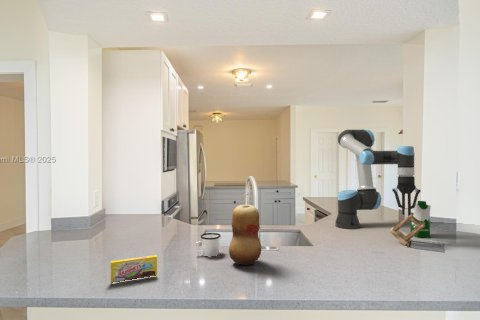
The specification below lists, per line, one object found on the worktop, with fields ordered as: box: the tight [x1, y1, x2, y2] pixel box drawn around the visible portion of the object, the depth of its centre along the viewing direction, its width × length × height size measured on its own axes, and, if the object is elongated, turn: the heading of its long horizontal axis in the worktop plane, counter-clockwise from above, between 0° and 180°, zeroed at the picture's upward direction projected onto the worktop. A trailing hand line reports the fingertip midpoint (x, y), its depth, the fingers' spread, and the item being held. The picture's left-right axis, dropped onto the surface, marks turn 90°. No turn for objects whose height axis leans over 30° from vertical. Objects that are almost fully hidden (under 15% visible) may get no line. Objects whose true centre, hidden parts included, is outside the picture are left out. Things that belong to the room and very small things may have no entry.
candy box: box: [110, 254, 158, 284], centre depth 105 cm, size 16×2×8 cm, turn 114°
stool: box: [389, 212, 426, 246], centre depth 146 cm, size 9×9×14 cm
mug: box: [194, 232, 221, 257], centre depth 132 cm, size 12×10×9 cm
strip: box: [406, 239, 411, 248], centre depth 146 cm, size 1×14×1 cm, turn 146°
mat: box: [409, 239, 446, 254], centre depth 142 cm, size 14×14×1 cm
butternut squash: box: [228, 204, 262, 266], centre depth 120 cm, size 14×13×25 cm
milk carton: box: [410, 200, 431, 239], centre depth 160 cm, size 9×9×20 cm
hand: (406, 221), depth 146 cm, fingers closed
